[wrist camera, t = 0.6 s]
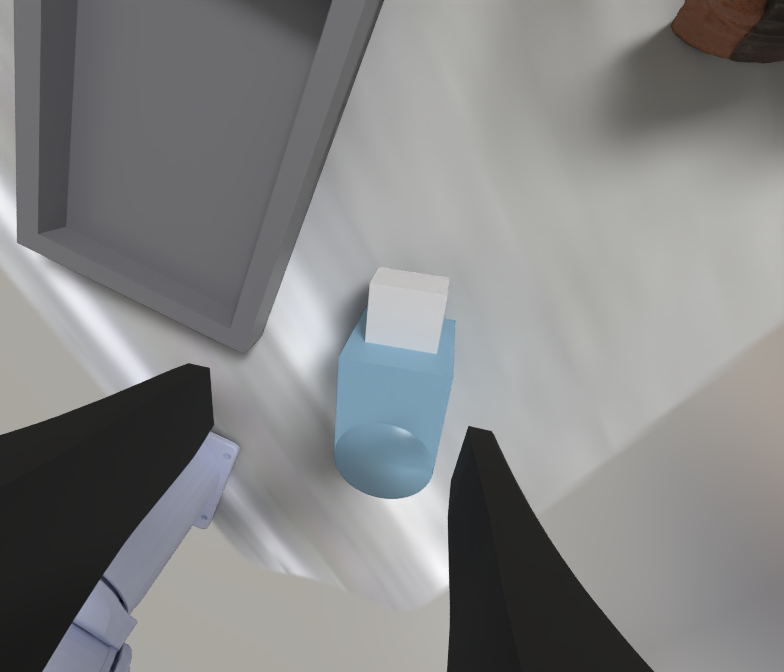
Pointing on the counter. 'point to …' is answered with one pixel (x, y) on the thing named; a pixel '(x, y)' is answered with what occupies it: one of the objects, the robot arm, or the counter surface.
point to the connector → (395, 385)
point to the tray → (180, 143)
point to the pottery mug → (734, 28)
